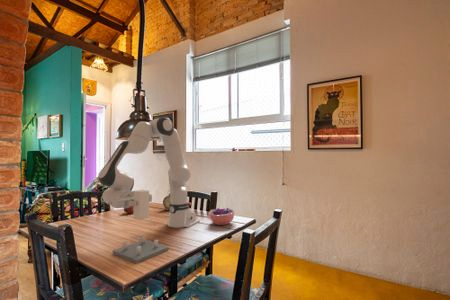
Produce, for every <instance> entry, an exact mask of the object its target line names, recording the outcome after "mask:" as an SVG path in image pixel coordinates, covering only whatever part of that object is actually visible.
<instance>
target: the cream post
mask: <svg viewBox="0 0 450 300" xmlns="http://www.w3.org/2000/svg"><path fill="white" fill-rule="evenodd" d="M133 191H134V201H138V205H136V206H134V207H133V213H132V214H133V215H132V217H133V219H136V220H139V221H141V220H145V219H149V218H150V202H149V194H150V190H147V189H137V190H133Z"/></svg>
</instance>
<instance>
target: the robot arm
mask: <svg viewBox="0 0 450 300" xmlns="http://www.w3.org/2000/svg"><path fill="white" fill-rule="evenodd" d="M159 137H160V138H161V140H162V143H163V148H164V153H165V157H166V160H167V162H168V165H169V168H168V171H167V173H168V174H167V175H168V184H169V185H168V186H169V190H170V191H169V194H170V204H169V209H168V210H169V213H168V214H169V215H168V220H167V225H166V226H167V227H169V228H189V227H192V226H194V225H196V224H197V223H199V222H200V221H201V220H200V219H199V218H197V214H196V212H195V211H194V210H193V209H191V208H190V206H191V207H192V202H188V188H187V184H186V182H188V181H189V180H190V178H191V171H190V169H189V166H188V164H187V161H186V160H187V159H186V158H185V156H184V151H183V147H182V146H183V145H182V142H181V138H180V135H179V133H178V130H177V129H176V128H175V127H174V123H173V121H172V120H171V119H170V118H169V117H167V116H166V117H164V116H163V117H162V116H161V117H159V118H154V119H153V120H150V121H139V122H138V123H137V124H136V125H135V127H134V128H133V129H132V131H131V134H130V135H129V137H128V138H127V140H123V141H122V142H120V143H119V145H118V146H117V148H116V149H115V150H114V152H113V154H112V155H111V157H110V158H109V159H108V161H107V162H106V164H105V165H104V167H102V169H100V171H99V173H98V175H97V176H98V181H99V184H100V185H102V186H105V187H109V188H106V189H105V190H104V191H103V192H102V197H101V198H102V200H103V202H104V203H106V204H107V205H110V207H112V208H114V209H124V208H129V207H130V206H133V205H134V206H136V205H138V201H134V191H135V190H133V189H134V185H135V179H134V177H133V175H131V174H128V173H126V172H124V171H122V170H120V169H118V166H119V164H120V163H121V161H122V160H123V158H124V156H125V155H126V154H133V155H135V154H136V155H137V154H138V155H139V154H142V153H144V152H146V150H147V148H148V146H149V144H150V141H151V138H152V139H153V138H159ZM152 201H153V196H152V194H151V193H149V203H151V202H152Z"/></svg>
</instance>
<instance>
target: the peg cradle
mask: <svg viewBox="0 0 450 300" xmlns="http://www.w3.org/2000/svg"><path fill="white" fill-rule="evenodd" d="M167 251H169V246H167V245H163V244H160V243H159V240H158V239H155V240H153V241H151V240H147V239H146V236H145V235H141V237H140V240H139V241H136V242H133V243H130V244H129V242H128V241H123V246H121V247H119V248H115V249H113V250H112V254H113V255H115V256H117V257H120V258H122V259H124V260H127V261H129V262H132V263H134V264H139V263H142V262H144V261H146V260H148V259H151V258H153V257H155V256H158V255H160V254H162V253H165V252H167Z"/></svg>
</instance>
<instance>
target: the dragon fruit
mask: <svg viewBox="0 0 450 300" xmlns="http://www.w3.org/2000/svg"><path fill="white" fill-rule="evenodd" d="M133 207H134V205H133V206H130V207H129V208H123V212H124V213H126V214H128V215H130V214H133Z"/></svg>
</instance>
